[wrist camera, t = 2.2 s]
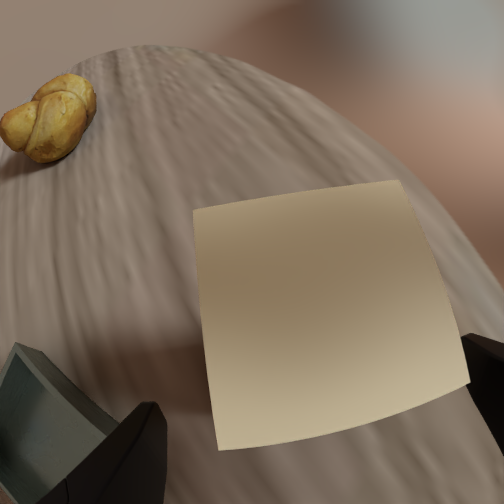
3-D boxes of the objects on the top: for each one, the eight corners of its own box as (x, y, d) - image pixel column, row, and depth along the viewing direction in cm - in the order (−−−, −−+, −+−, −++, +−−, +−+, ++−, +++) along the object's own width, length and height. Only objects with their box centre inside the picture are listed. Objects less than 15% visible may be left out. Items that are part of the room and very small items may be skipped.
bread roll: (67, 105, 32) (45, 62, 25) (123, 93, 31) (102, 41, 24) (20, 176, 27) (-16, 131, 19) (76, 169, 25) (37, 110, 18)
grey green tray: (155, 449, 14) (133, 457, 11) (95, 548, 10) (73, 561, 7) (42, 351, 17) (15, 341, 15) (-1, 450, 13) (-26, 449, 10)
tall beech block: (339, 396, 15) (470, 381, 4) (260, 411, 15) (218, 450, 4) (324, 322, 17) (398, 179, 6) (248, 335, 17) (192, 209, 6)
